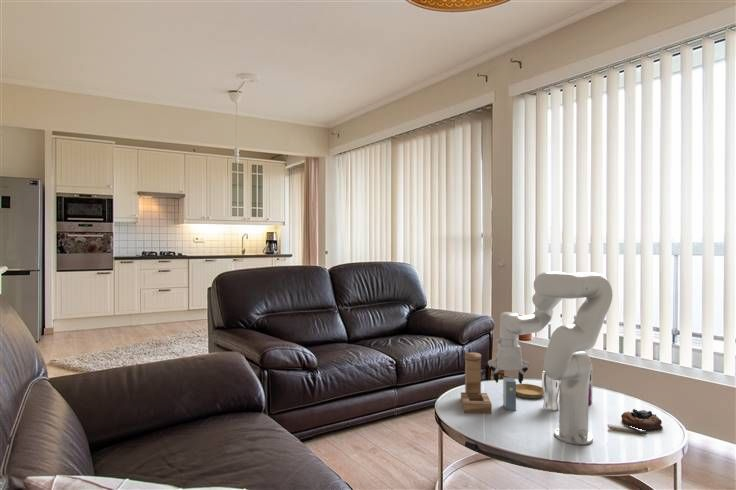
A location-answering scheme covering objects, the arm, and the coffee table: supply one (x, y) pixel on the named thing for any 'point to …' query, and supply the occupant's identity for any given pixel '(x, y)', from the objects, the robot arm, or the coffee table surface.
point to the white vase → (550, 392)
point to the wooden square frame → (474, 387)
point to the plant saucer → (529, 391)
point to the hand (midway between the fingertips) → (508, 382)
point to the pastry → (642, 420)
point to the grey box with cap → (509, 394)
